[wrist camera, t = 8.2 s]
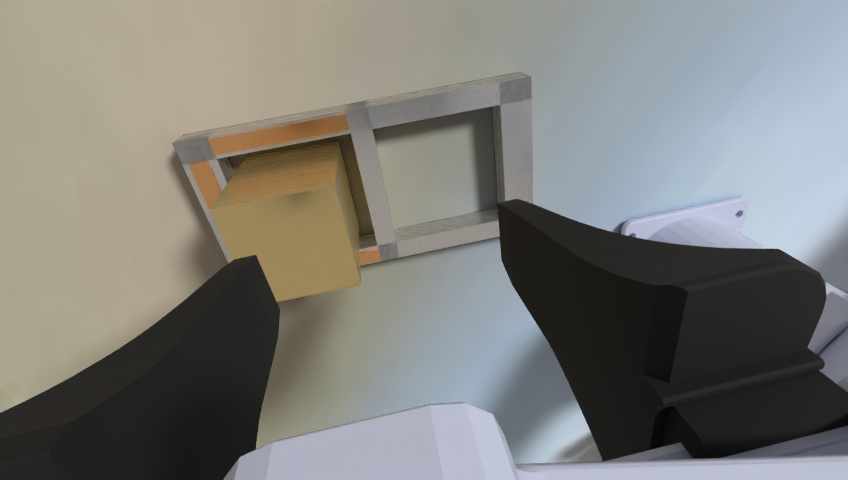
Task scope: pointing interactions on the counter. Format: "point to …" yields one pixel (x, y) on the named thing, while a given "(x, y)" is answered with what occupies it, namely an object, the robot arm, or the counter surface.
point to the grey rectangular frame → (512, 146)
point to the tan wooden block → (293, 219)
